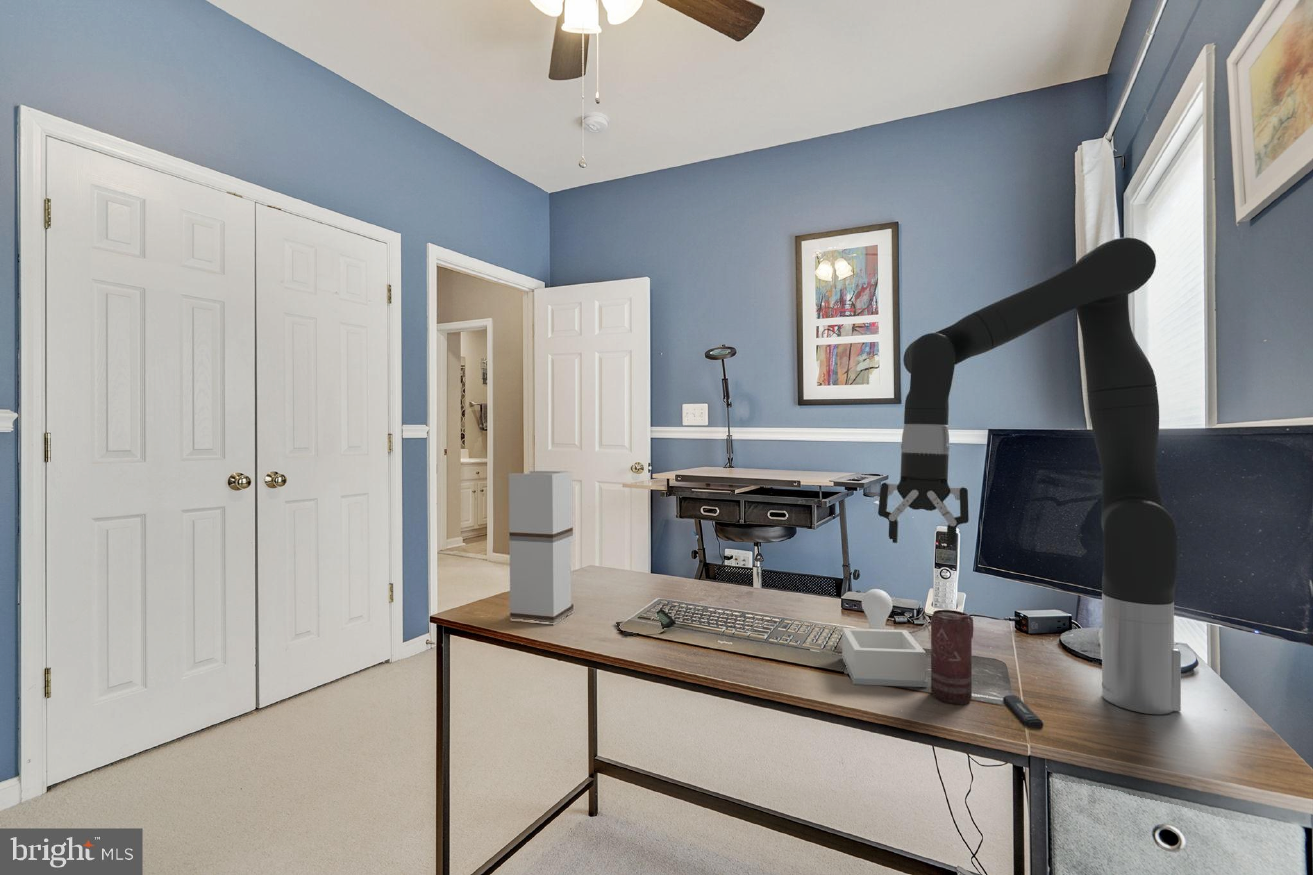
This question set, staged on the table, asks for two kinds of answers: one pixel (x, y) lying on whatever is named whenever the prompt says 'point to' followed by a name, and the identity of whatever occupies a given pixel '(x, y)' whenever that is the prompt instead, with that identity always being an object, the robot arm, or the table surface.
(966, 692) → the can
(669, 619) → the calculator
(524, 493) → the banded grey pillar
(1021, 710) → the usb stick
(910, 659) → the light grey open box
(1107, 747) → the table surface
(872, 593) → the lightbulb
